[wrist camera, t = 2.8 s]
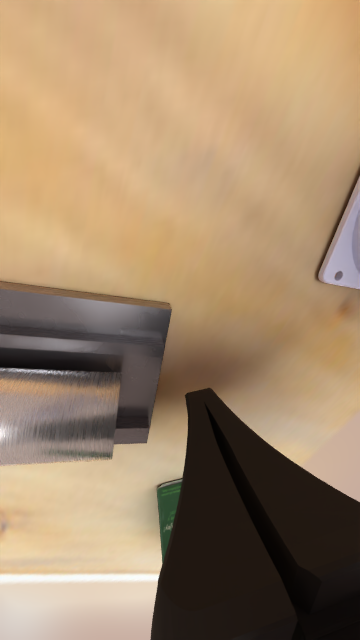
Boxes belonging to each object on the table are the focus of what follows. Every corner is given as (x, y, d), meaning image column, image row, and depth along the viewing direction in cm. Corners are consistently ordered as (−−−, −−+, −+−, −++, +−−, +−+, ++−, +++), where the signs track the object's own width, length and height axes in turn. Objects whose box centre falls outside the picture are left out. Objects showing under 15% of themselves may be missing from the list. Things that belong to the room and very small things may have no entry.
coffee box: (195, 526, 20) (279, 945, 8) (166, 535, 20) (210, 988, 8) (190, 475, 17) (314, 1043, 5) (155, 484, 17) (200, 1122, 5)
